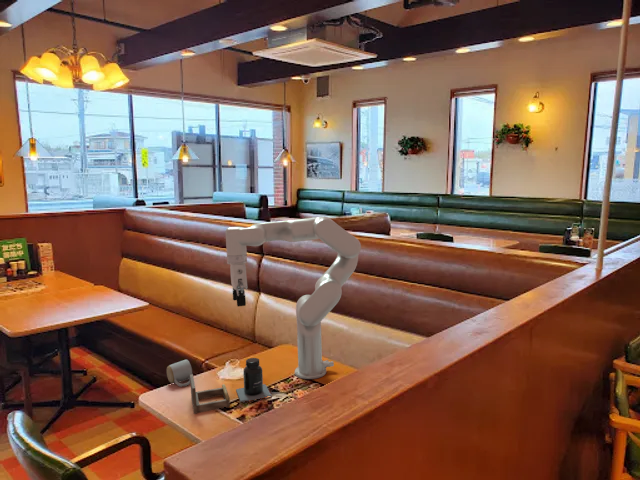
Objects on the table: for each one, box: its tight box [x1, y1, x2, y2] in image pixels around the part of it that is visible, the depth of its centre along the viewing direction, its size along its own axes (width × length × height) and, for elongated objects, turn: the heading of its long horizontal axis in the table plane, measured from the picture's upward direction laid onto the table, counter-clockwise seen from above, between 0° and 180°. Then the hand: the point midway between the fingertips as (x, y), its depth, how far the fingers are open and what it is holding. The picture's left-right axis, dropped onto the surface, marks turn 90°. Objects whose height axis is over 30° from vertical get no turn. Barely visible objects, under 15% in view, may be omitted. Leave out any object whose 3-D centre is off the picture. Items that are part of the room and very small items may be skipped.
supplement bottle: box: [243, 357, 264, 395], centre depth 171 cm, size 7×7×12 cm
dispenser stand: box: [189, 373, 231, 415], centre depth 165 cm, size 12×12×9 cm
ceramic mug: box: [166, 359, 193, 388], centre depth 183 cm, size 11×8×8 cm
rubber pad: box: [235, 383, 272, 403], centre depth 172 cm, size 11×10×1 cm
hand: (239, 302), depth 182 cm, fingers open, 9 cm apart
